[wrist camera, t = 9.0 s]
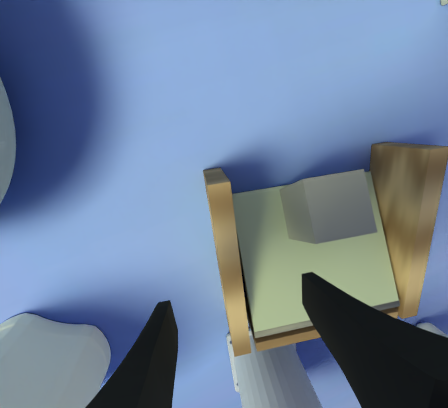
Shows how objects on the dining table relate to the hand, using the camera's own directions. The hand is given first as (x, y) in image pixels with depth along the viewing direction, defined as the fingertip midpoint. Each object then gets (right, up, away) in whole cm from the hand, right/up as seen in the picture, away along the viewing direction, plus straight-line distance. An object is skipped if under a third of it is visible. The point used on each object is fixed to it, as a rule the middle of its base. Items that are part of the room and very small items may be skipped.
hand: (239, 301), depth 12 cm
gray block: (+7, +5, +8) cm, 11 cm away
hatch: (+7, +1, +9) cm, 11 cm away
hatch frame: (+7, +3, +11) cm, 13 cm away
